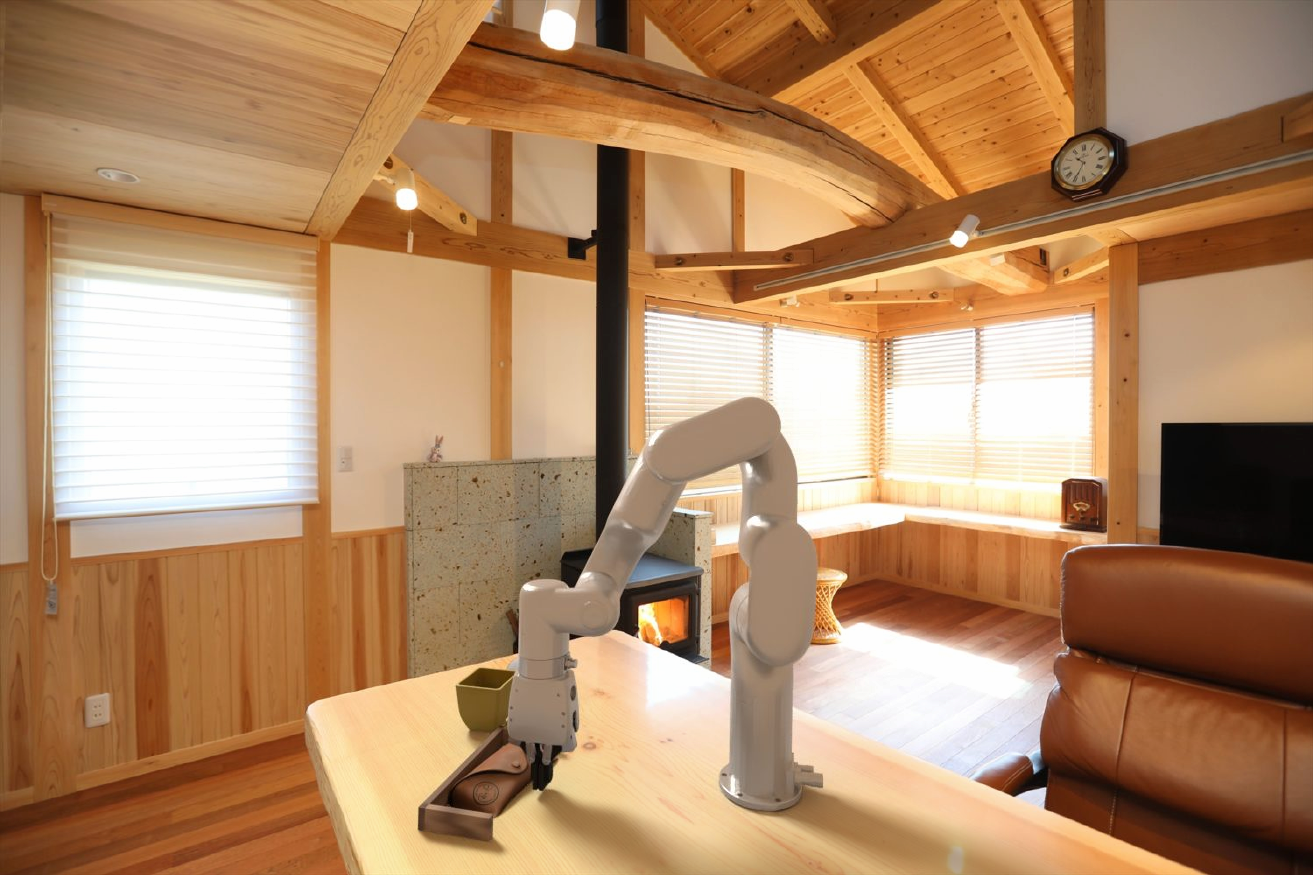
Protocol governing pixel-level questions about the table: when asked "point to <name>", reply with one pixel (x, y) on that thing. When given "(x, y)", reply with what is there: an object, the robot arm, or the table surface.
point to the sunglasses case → (493, 782)
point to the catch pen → (453, 819)
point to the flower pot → (484, 698)
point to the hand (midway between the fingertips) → (541, 785)
